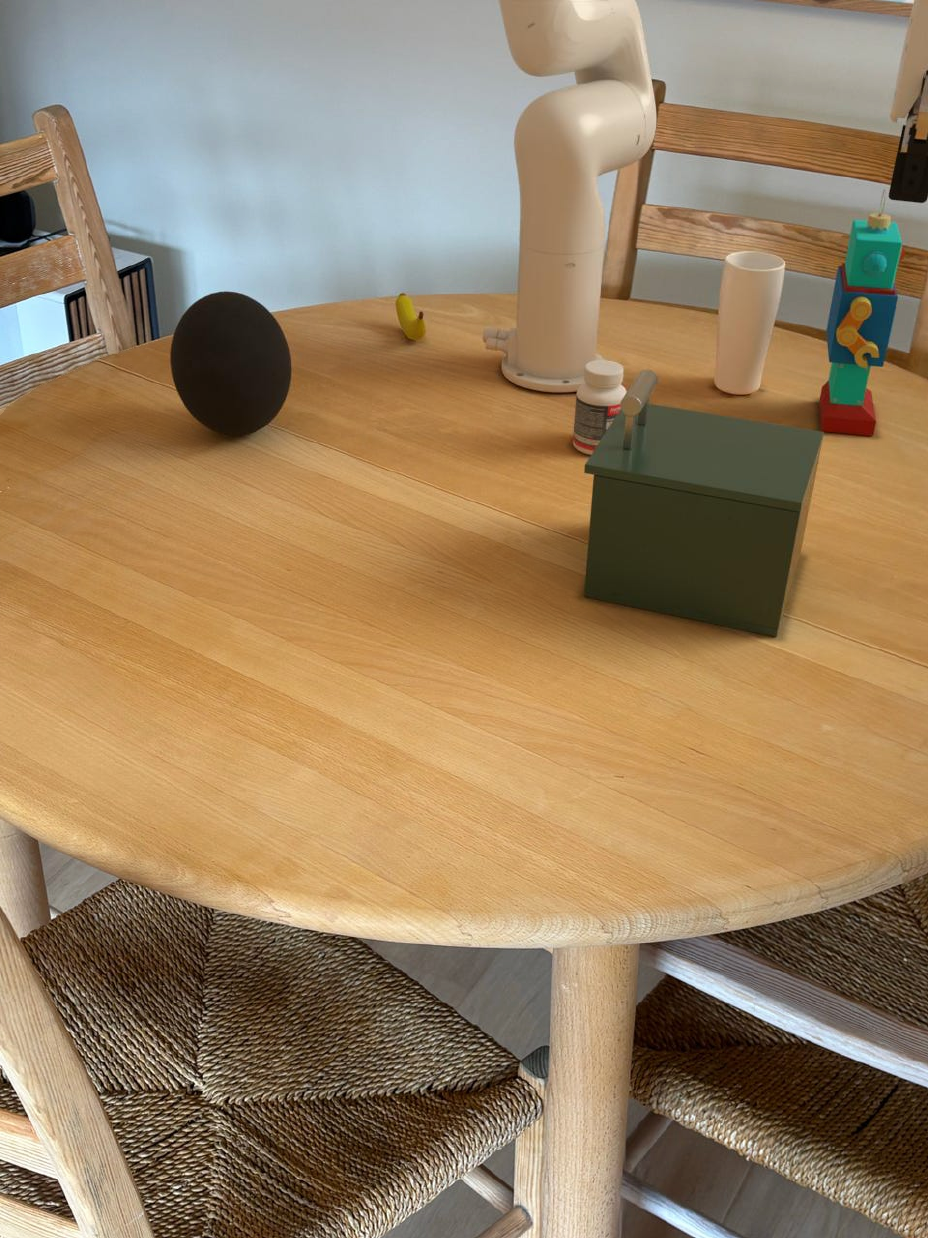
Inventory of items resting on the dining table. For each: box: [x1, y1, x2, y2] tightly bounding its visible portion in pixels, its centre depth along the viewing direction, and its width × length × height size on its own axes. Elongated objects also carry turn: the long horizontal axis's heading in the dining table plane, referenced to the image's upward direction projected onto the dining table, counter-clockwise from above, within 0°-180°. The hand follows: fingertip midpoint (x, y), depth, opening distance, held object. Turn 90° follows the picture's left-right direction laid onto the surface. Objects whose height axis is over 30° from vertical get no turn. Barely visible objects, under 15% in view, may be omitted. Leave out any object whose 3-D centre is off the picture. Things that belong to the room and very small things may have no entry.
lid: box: [583, 368, 825, 512], centre depth 103 cm, size 17×14×6 cm
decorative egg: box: [169, 290, 293, 437], centre depth 130 cm, size 12×12×15 cm
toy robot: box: [819, 188, 906, 437], centre depth 132 cm, size 12×6×25 cm, turn 168°
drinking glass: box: [713, 250, 786, 396], centre depth 141 cm, size 7×7×15 cm
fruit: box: [395, 292, 427, 341], centre depth 155 cm, size 10×2×5 cm, turn 16°
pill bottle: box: [572, 359, 628, 456], centre depth 130 cm, size 5×5×9 cm
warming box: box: [583, 442, 823, 638], centre depth 107 cm, size 17×14×12 cm
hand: (909, 185), depth 111 cm, fingers open, 9 cm apart
